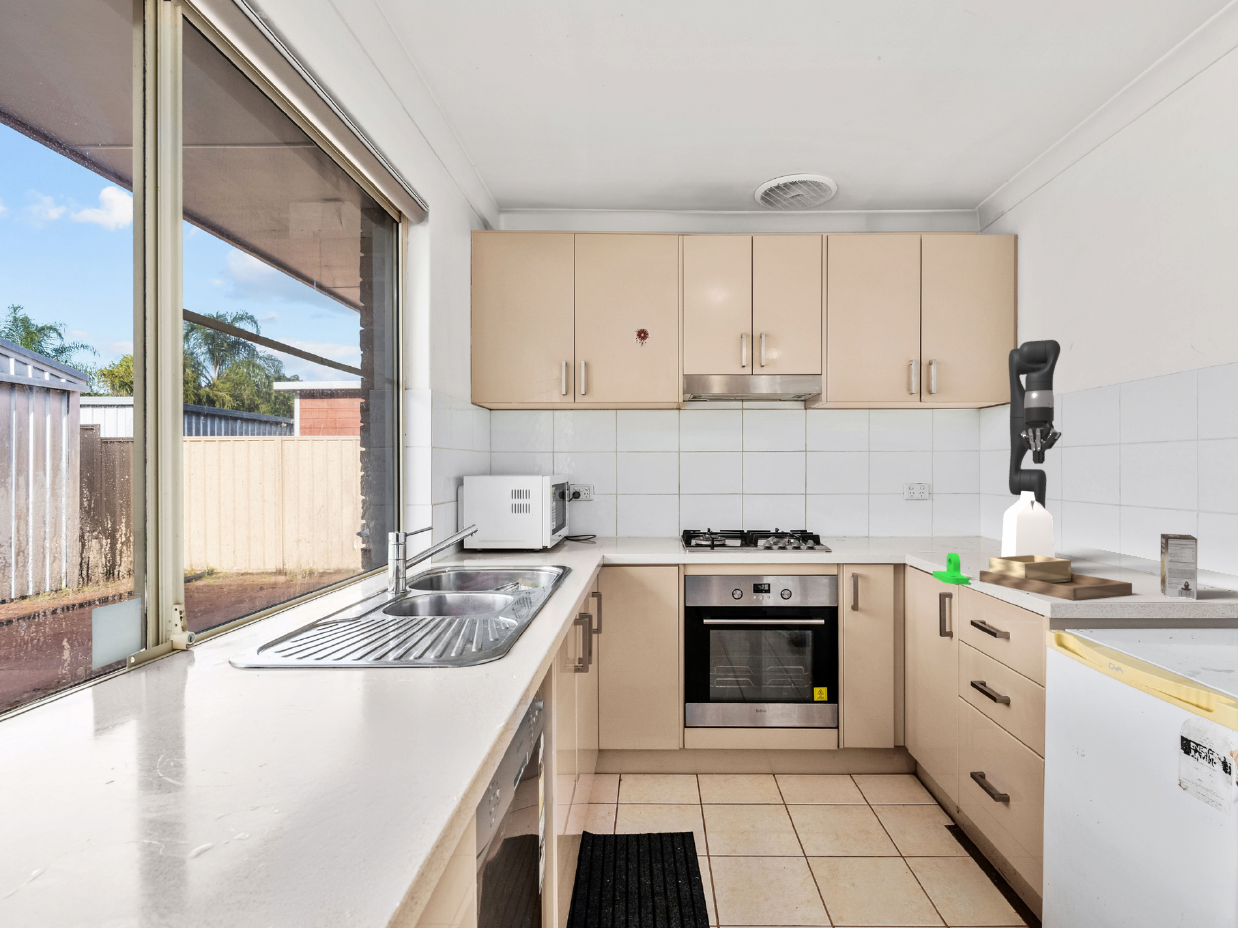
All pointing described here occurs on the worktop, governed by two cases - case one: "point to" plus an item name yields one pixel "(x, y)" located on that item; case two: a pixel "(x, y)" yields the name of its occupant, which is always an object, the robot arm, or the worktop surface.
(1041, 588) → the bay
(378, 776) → the worktop surface
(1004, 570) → the crate
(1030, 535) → the milk
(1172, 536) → the coffee box
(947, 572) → the mechanical part
